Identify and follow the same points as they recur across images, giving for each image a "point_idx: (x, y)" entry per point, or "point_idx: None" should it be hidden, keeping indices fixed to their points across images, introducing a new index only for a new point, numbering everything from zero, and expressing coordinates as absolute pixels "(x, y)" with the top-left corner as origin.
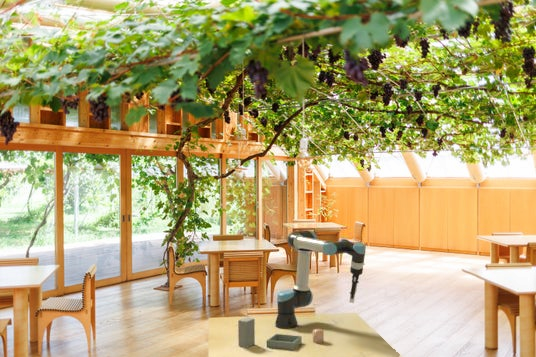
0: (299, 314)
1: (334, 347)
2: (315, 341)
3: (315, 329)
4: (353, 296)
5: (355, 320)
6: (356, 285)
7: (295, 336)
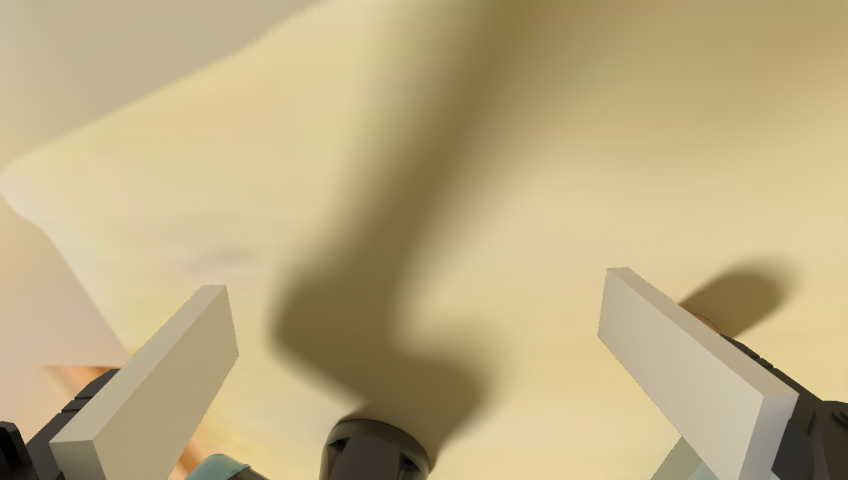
0: None
1: (844, 249)
2: None
3: None
4: (782, 374)
5: (134, 142)
6: (139, 405)
7: (703, 468)
